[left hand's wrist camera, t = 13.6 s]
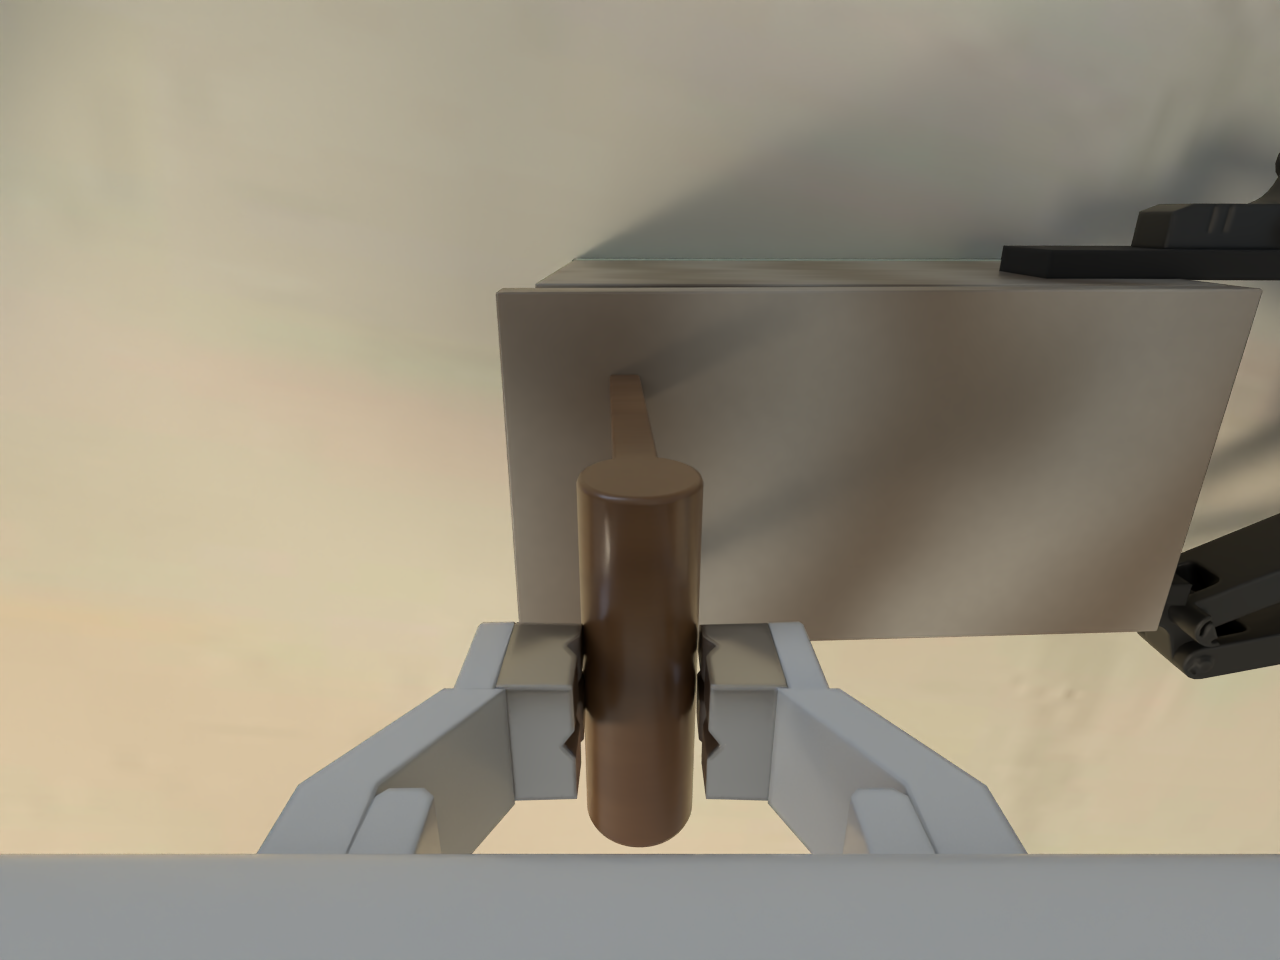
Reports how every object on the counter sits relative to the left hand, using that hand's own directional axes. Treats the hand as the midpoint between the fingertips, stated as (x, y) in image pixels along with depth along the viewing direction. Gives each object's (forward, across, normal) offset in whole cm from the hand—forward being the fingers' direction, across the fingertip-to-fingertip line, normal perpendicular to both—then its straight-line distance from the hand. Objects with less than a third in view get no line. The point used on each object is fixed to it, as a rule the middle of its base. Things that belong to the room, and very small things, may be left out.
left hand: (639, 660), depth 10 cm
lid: (+8, -6, 0) cm, 10 cm away
